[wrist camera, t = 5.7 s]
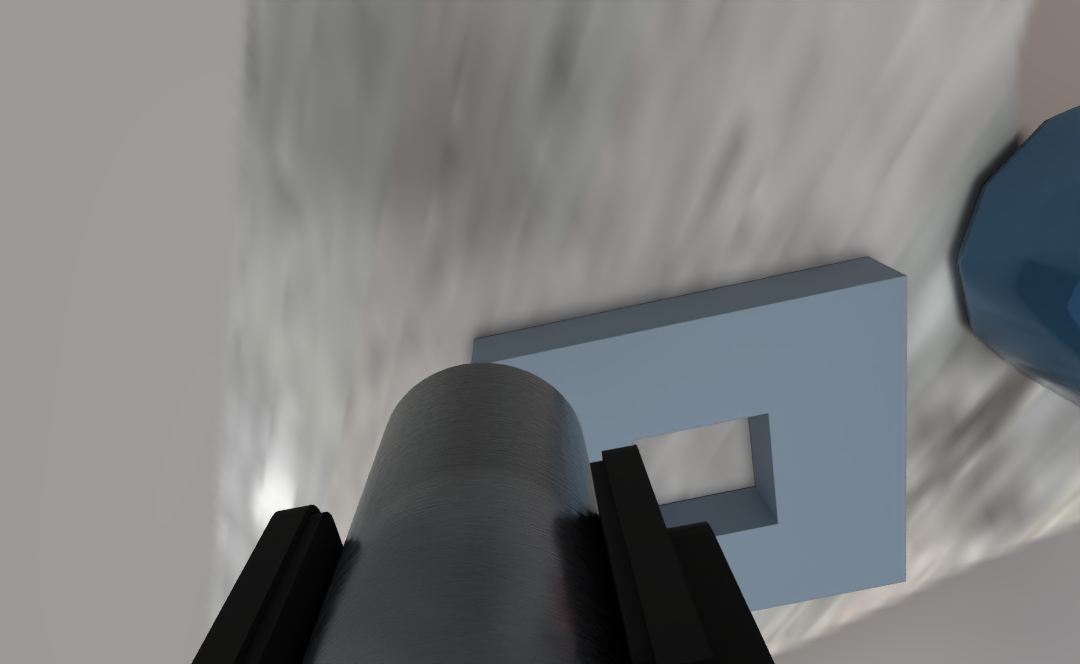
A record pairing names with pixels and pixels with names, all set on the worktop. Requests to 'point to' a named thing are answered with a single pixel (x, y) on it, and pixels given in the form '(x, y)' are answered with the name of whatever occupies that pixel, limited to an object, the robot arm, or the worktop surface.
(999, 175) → the wine bottle
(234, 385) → the worktop surface
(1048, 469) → the worktop surface
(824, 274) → the sleeve block
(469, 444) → the tall steel pin
